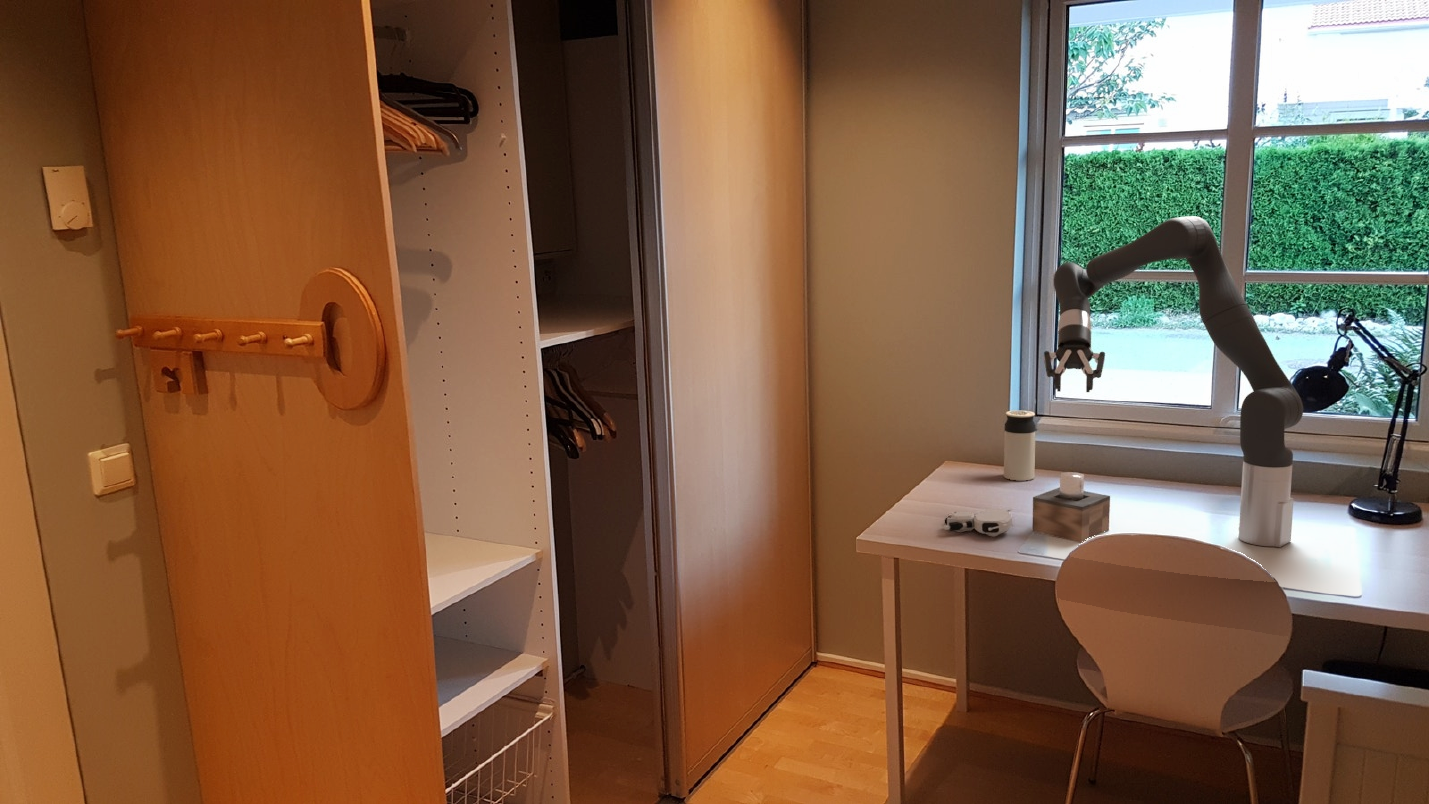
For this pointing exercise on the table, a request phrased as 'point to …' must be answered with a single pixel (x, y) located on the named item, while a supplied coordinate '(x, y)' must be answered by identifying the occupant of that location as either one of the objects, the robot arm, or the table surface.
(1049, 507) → the band block
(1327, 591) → the table surface
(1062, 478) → the peg
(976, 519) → the robot toy
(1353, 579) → the table surface
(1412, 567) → the table surface
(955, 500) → the table surface
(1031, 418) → the travel mug
